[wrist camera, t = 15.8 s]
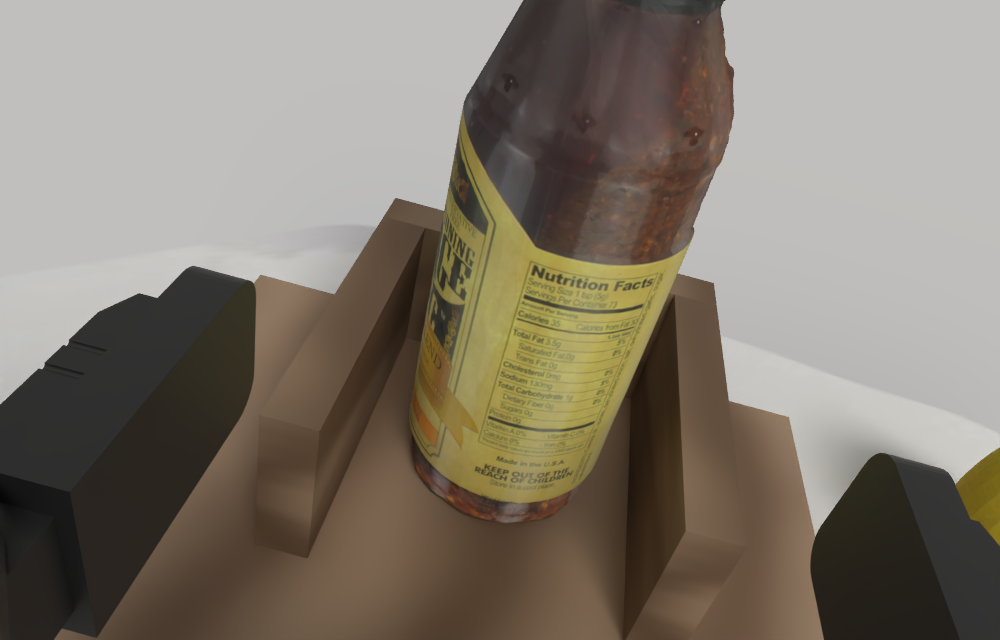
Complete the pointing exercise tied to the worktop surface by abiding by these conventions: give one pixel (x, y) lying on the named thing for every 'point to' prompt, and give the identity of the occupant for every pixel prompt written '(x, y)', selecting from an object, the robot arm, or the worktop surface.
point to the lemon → (983, 493)
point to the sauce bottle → (562, 242)
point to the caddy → (457, 536)
